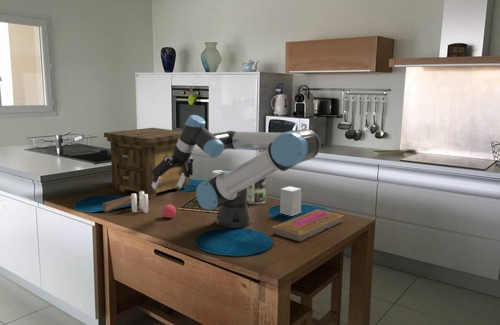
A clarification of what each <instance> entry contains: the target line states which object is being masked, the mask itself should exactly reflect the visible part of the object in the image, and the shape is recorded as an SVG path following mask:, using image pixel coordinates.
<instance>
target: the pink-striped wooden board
mask: <svg viewBox="0 0 500 325" xmlns="http://www.w3.org/2000/svg"><path fill="white" fill-rule="evenodd" d="M326 217H327V218H326ZM342 217H345V215H344V214H339V213H335V212H331V211H328V210H323V209H319V208H317V209H315V210H312V211H309V212H307V213H305V214H302V215H298V216H297V217H292V219H289V220H287V221H284V222H281V223H279V224H277V225H274V226H272V227H271V228H273V229H274V235H277V236H281V237H283V238H287V239H289V238H290V240H294V241H296V240H297V242H299V241H300V242H302V241H304V240H306V239H308V237H309V238H310V237H312V236H315V235H317V234H320V233H321V232H323V231H325V229H326V230H327V228H328V229H330V228H331V227H333V226H336V225H338V224H340V223H342V220H343V218H342ZM314 222H315V223H314Z"/></svg>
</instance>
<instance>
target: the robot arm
mask: <svg viewBox="0 0 500 325" xmlns="http://www.w3.org/2000/svg"><path fill="white" fill-rule="evenodd" d="M205 127H206V121H205V119H204V118H203V117H201V116H200V115H198V114H197V115H196V114H190V115H189V116H188V117H187V120H186V122H184V125H183V128H182V130H181V131H182V133H181V135H180V137H179V139H178V141H177V144H176V146H175V148H174V150H173V155H172V157H168V156H165V157H164V159H163V161H162V162H161V163H160V164H159V165H158V166H157V167H156V168H155V169H154V170H153V171H152V174H153V175H154V178H153V183H152V185H151V186H152V187H153V189H156V187H157V185H158V183H159V181H160V178H161V177H160V176H161V175H163V174H164V173H165V172H167V171H168V170H169V169H171V168H173V167H181V166H182V169H183V171H184V173H185V174H184V173H182V175H181V177H180V179H179V181H178V184H177V185H178V186H179V188H182V185H183V183H184V181H186V179H187V177H188V178H189V177H191V176H193V175H194V172H193V170H194V169H193V163H194V158H193V157H192V156H191V155H192V154H193V151H194V150H195V148H196V146H197V147H198V148H199V149H201V150H202V151H203V152H204V153H205V154H207V156H209V157H211V158H213V159H215V158H218V156H221V154H222V153H223V152H224V150H246V151H263V152H261V153H259V154H257V155H256V156H254V157H253V158H251V159H249V160H248V161H246V162H244V163H243V164H241V165H239V166H238V167H236V168H234V169H233V170H221V171H222V172H221V173H220V174H219V175H217V176H215V177H213V178H212V177H211V178H210V179H209V180H204V181H202V182H200V183H199V184H198V185H197V187H196V190H195V191H196V192H195V195H196V197H195V198H196V200H197V203H198V204H199V205H200V207H202V208H204V210H206V211H207V210H208V211H211V210H215V209H217V208H219V209H218V211H217V215H216V222H215V223H216V225H217V226H220V227H222V228H226V229H241V228H245V227H248V226H250V224H251V216H250V212H249V209H248V203H247V187H248V186H250V185H252V184H254V183H256V182H257V181H259V180H261V179H263V178H265V177H266V178H267V177H268V176H270V175H272V174H274V173H275V172H277V171H281V172H285V171H288V170H289V169H292V168H293V167H295V166H297V165H299V164H301V163H303V162H307V161H309V160H312V159H314V158H315V157H317V155H318V154H319V152H320V151H321V146H322V143H321V138H320V137H319V135H318V134H317V132H315V131H313V130H311V129H309V128H308V129H307V128H303V129H298V130H290V131H289V130H288V131H285V132H267V131H266V132H264V131H263V132H262V131H257V132H256V131H237V130H227V131H223V132H222V131H221V132H214V133H212V132H211V131H209V130H208V129H206V128H205ZM186 162H188V171H187V169H186V166H185V163H186ZM170 163H171V164H172V165H170ZM158 173H159V174H158Z"/></svg>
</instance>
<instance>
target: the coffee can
mask: <svg viewBox="0 0 500 325" xmlns="http://www.w3.org/2000/svg"><path fill="white" fill-rule="evenodd" d="M266 181H267V176H266V177H265V178H263V179H261V180H259V181H257V182H256V183H254V184H252V185H250V186H248V187H247V204H252V205H261V204H265V203H266V186H267V185H266V183H267V182H266Z"/></svg>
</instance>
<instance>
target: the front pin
mask: <svg viewBox="0 0 500 325" xmlns="http://www.w3.org/2000/svg"><path fill="white" fill-rule="evenodd" d="M142 211H143V212H142V213H145V214H146V213H149V198H148V194H143V210H142Z"/></svg>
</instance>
